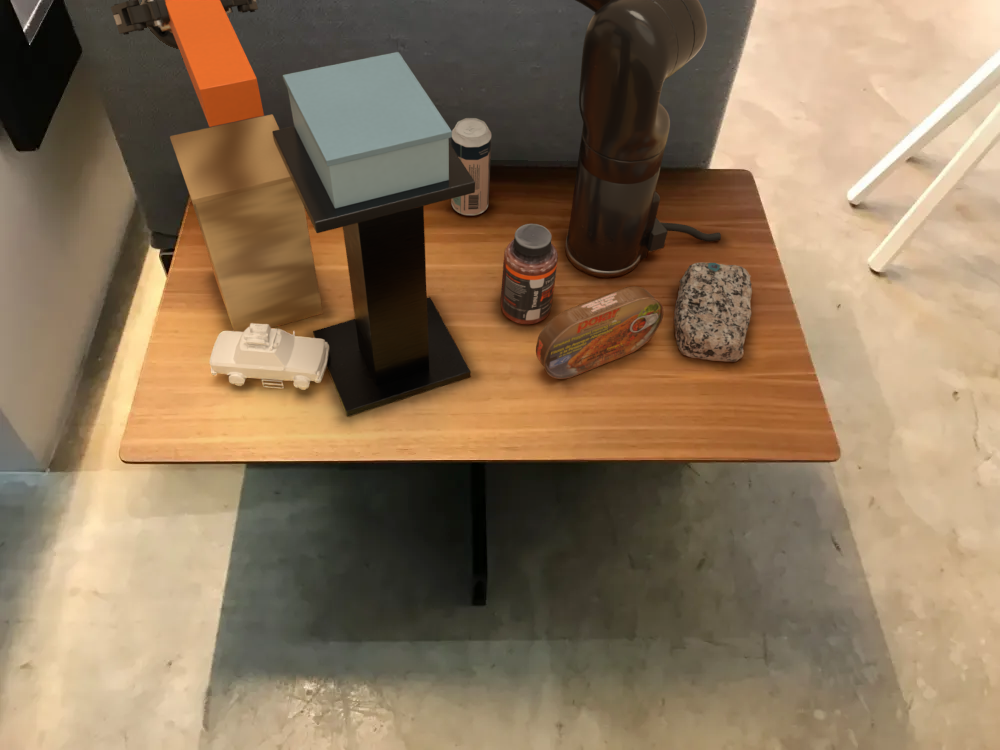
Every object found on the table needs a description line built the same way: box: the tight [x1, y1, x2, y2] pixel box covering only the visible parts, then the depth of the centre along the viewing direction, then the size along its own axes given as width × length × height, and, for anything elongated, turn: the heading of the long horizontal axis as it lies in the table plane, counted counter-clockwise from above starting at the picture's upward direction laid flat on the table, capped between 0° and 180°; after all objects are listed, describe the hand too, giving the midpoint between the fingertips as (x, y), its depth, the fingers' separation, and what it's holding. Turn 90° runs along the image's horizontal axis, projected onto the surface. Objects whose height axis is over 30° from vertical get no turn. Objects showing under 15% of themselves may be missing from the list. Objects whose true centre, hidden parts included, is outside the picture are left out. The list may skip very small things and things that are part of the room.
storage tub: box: [282, 51, 452, 208], centre depth 72 cm, size 10×12×5 cm
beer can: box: [450, 117, 492, 216], centre depth 106 cm, size 5×5×12 cm
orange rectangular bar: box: [165, 0, 265, 128], centre depth 74 cm, size 4×19×4 cm, turn 24°
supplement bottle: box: [500, 223, 559, 325], centre depth 95 cm, size 6×6×11 cm
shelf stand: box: [272, 125, 475, 418], centre depth 84 cm, size 14×13×27 cm
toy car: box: [209, 323, 329, 391], centre depth 90 cm, size 6×12×7 cm, turn 87°
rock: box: [673, 261, 753, 363], centre depth 98 cm, size 13×9×4 cm
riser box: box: [169, 114, 324, 332], centre depth 92 cm, size 10×10×20 cm
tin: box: [535, 285, 664, 380], centre depth 93 cm, size 15×3×8 cm, turn 117°
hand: (193, 2), depth 75 cm, fingers closed on orange rectangular bar, 4 cm apart
